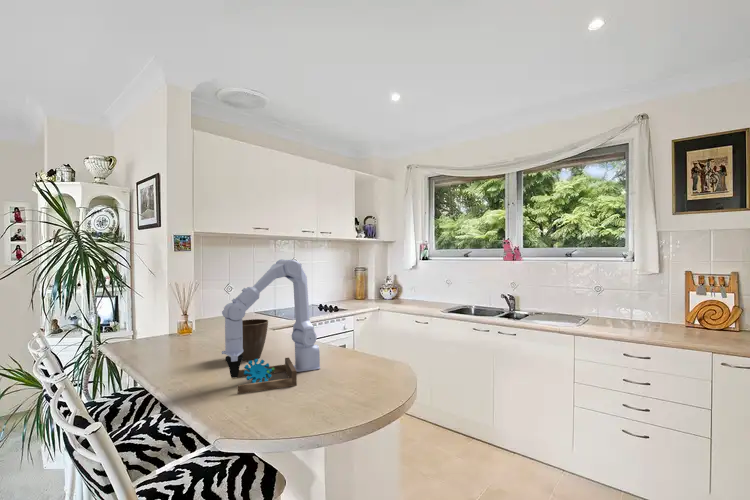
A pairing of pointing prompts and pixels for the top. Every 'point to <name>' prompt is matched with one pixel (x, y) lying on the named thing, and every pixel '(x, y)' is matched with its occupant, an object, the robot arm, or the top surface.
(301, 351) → the robot arm
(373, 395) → the top surface
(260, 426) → the top surface
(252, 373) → the gear
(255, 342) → the plant pot
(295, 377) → the wooden u-shaped frame
